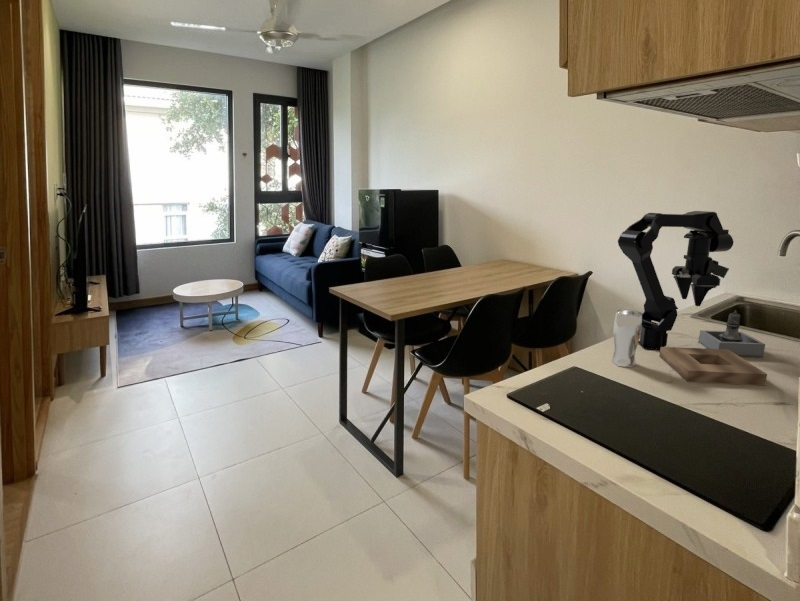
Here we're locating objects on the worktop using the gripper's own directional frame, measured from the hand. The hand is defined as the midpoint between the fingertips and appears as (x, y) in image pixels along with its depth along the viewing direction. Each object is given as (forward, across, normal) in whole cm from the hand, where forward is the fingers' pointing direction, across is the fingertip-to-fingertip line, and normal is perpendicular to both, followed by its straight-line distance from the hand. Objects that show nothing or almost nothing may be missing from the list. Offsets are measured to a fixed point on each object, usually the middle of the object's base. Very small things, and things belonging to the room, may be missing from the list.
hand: (690, 302), depth 143 cm
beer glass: (+13, -22, +25) cm, 36 cm away
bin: (+13, -6, -10) cm, 17 cm away
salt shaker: (+13, -6, -10) cm, 17 cm away
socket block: (+13, -24, +4) cm, 28 cm away
